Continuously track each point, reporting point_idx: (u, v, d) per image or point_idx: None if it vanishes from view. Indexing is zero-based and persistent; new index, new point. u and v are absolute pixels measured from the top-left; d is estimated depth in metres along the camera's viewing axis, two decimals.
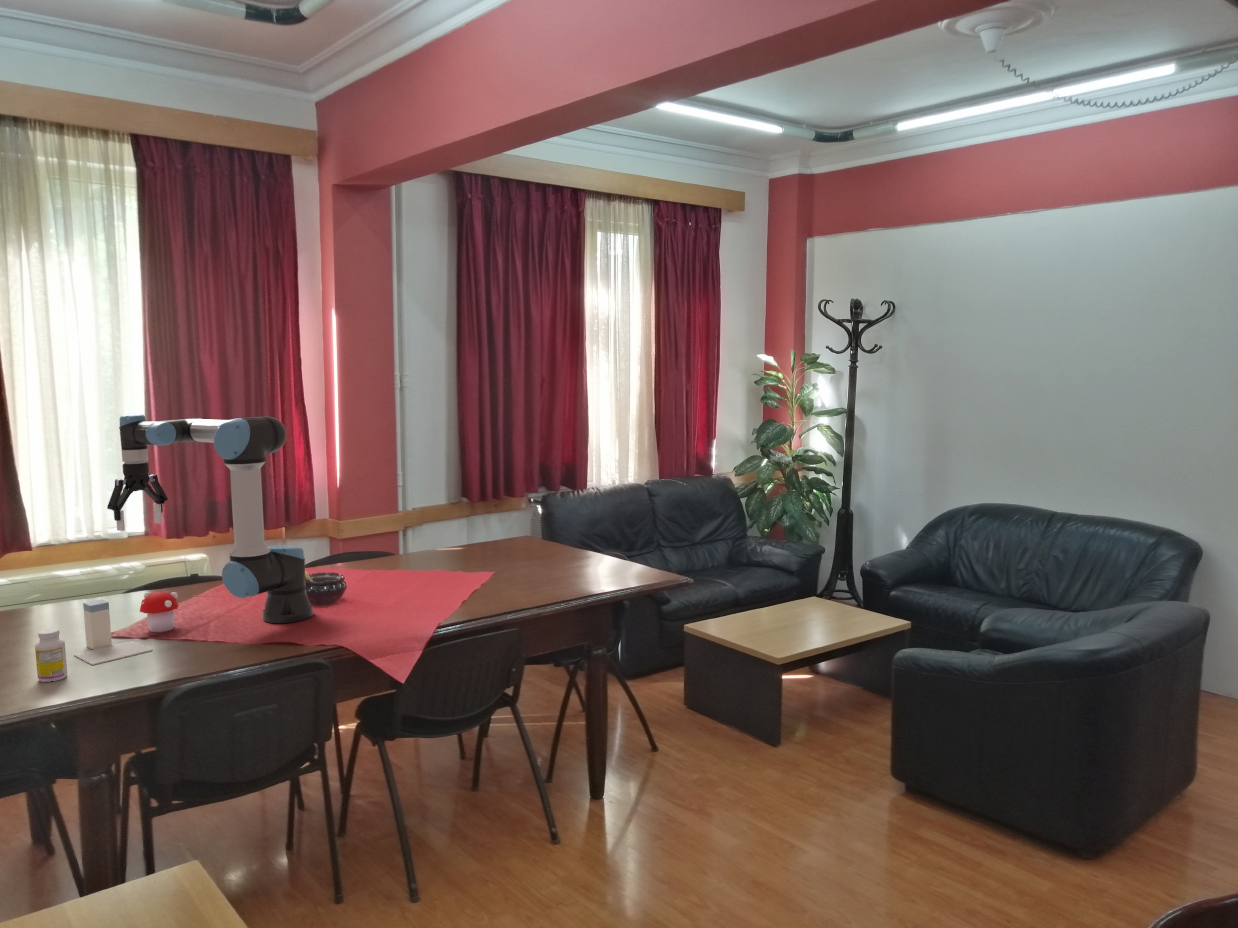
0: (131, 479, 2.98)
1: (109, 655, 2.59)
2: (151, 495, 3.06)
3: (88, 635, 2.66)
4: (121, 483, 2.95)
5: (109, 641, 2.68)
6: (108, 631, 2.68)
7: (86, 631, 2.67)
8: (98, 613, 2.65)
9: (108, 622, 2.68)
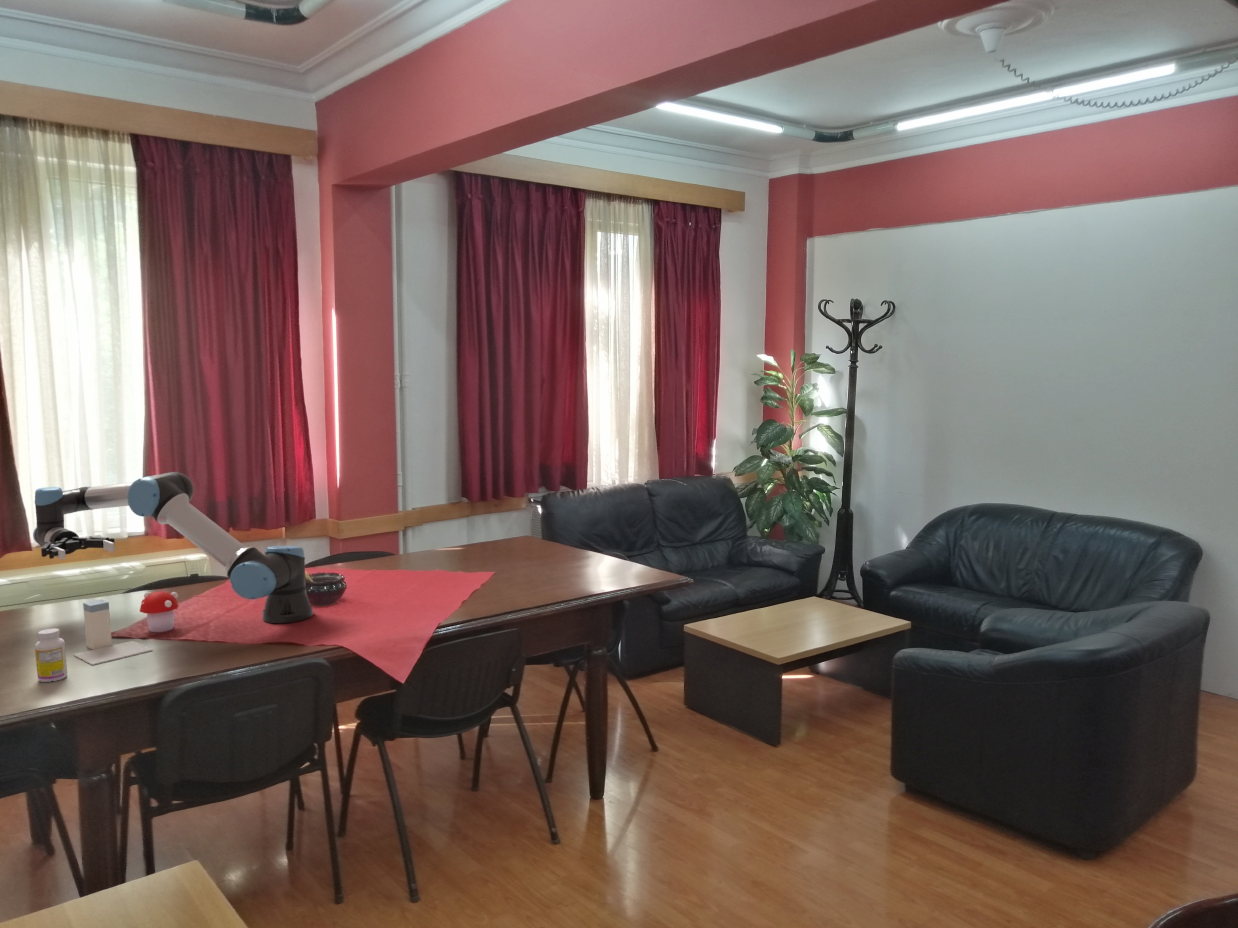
0: (59, 541, 2.84)
1: (109, 655, 2.59)
2: (93, 543, 2.86)
3: (88, 635, 2.66)
4: (46, 542, 2.81)
5: (109, 641, 2.68)
6: (108, 631, 2.68)
7: (86, 631, 2.67)
8: (98, 613, 2.65)
9: (108, 622, 2.68)
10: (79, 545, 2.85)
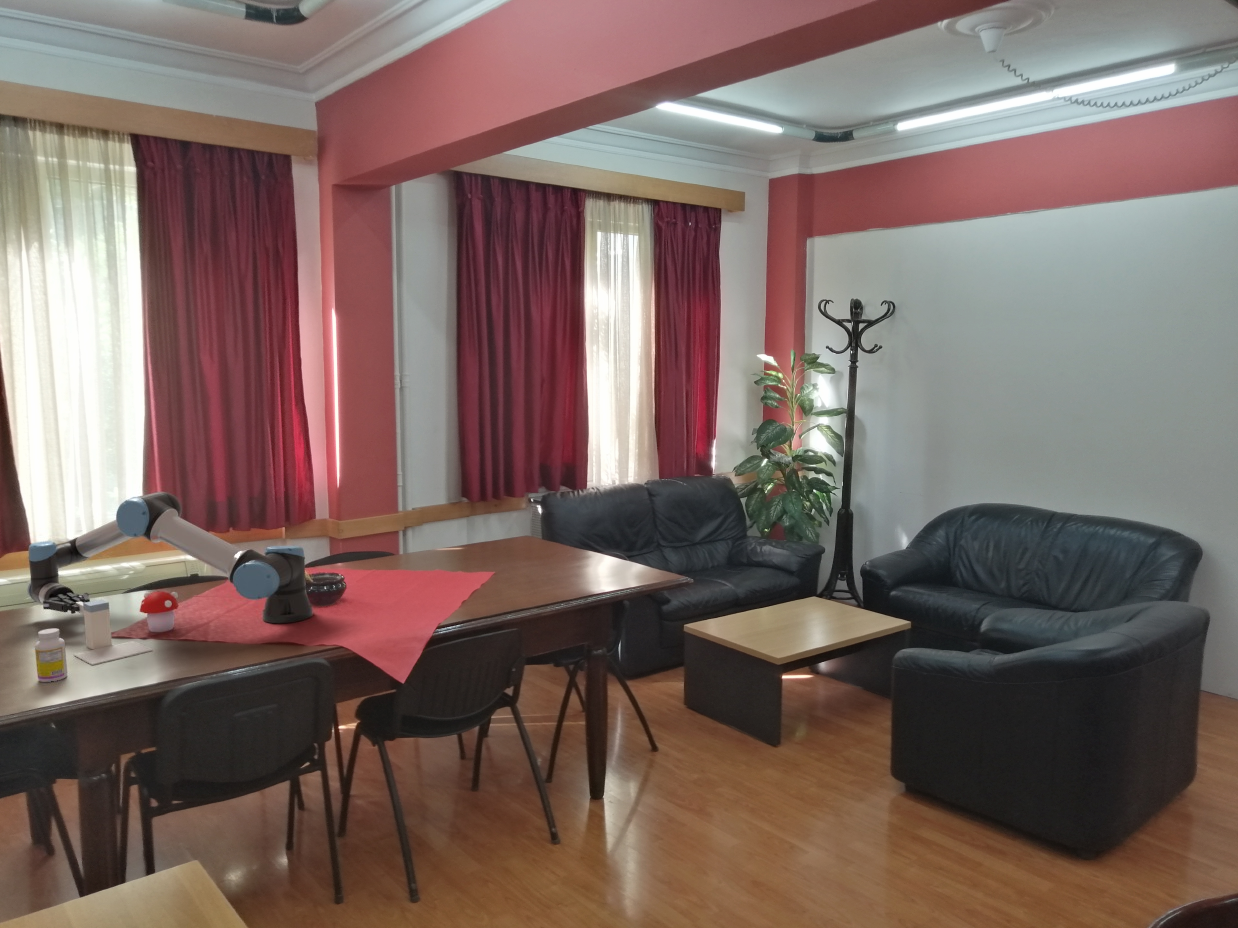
0: (51, 598, 2.82)
1: (109, 655, 2.59)
2: None
3: (88, 635, 2.66)
4: (46, 600, 2.78)
5: (109, 641, 2.68)
6: (108, 631, 2.68)
7: (86, 631, 2.67)
8: (98, 613, 2.65)
9: (108, 622, 2.68)
10: None
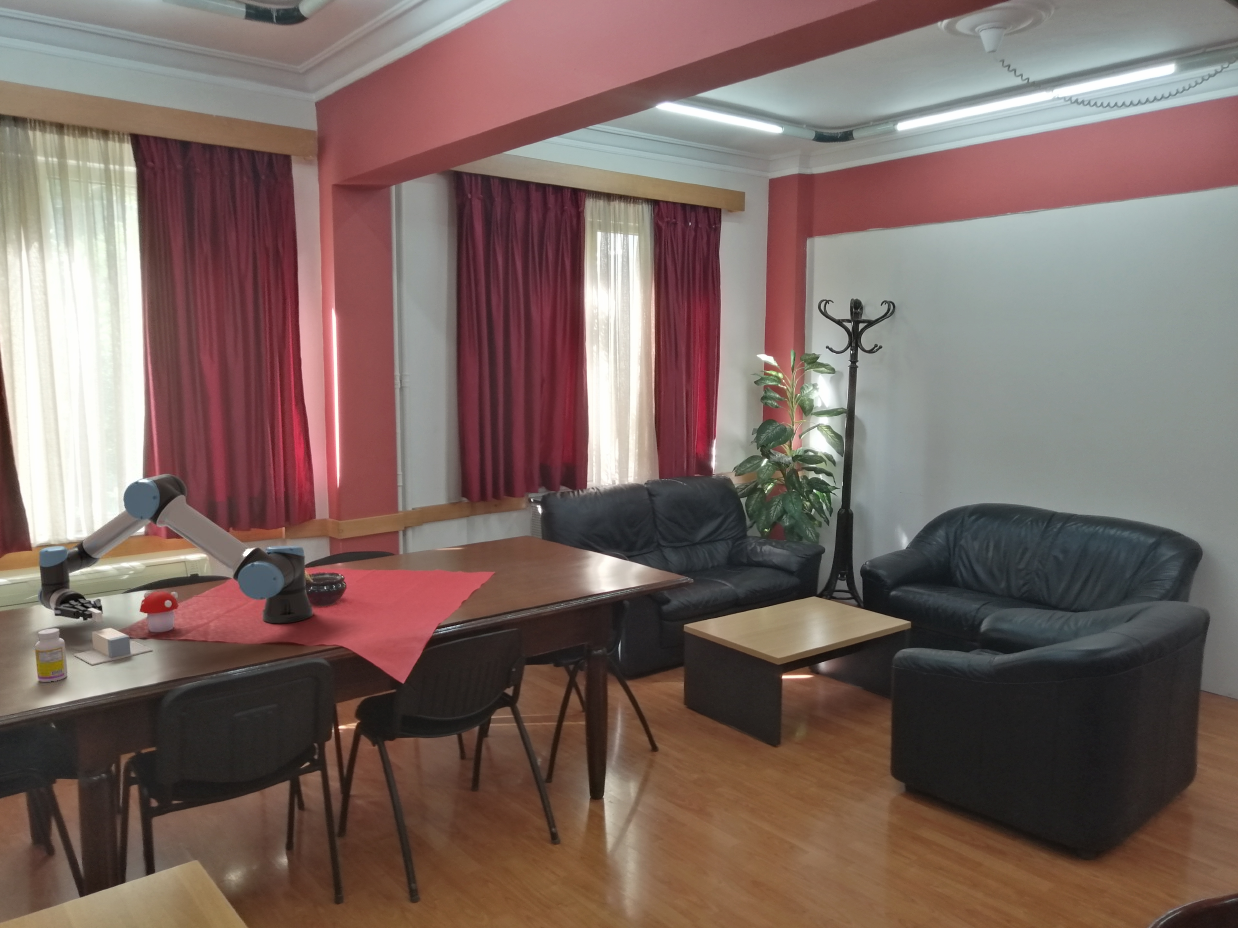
0: (63, 604, 2.75)
1: None
2: (87, 609, 2.73)
3: (97, 642, 2.62)
4: (58, 607, 2.71)
5: None
6: None
7: (98, 637, 2.62)
8: None
9: None
10: None
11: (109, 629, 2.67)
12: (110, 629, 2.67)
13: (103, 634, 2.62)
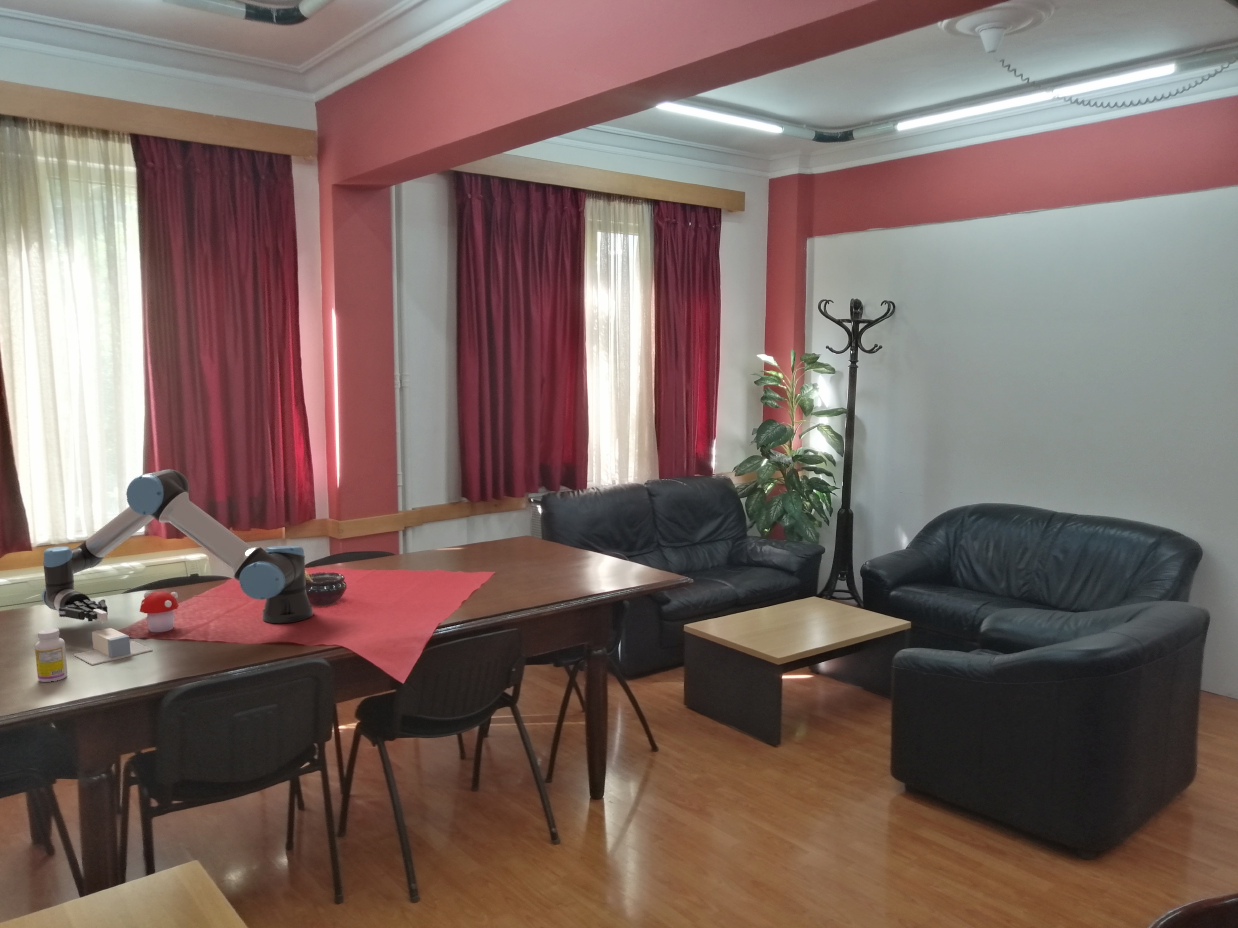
0: (67, 605, 2.73)
1: None
2: (92, 609, 2.71)
3: (97, 642, 2.62)
4: (63, 608, 2.70)
5: None
6: None
7: (98, 637, 2.62)
8: None
9: None
10: None
11: (109, 629, 2.67)
12: (110, 629, 2.67)
13: (103, 634, 2.62)
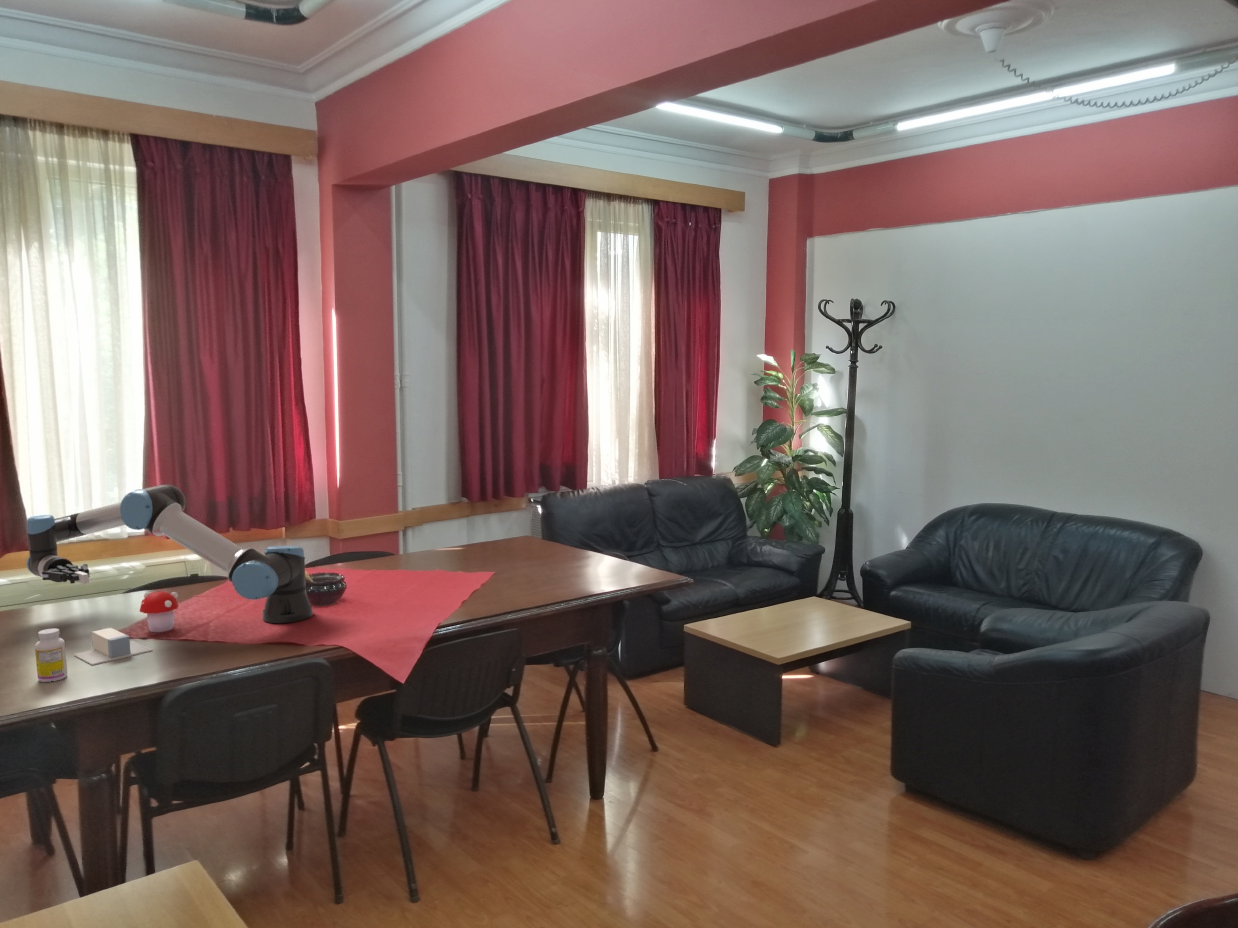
0: (50, 569, 2.82)
1: None
2: (74, 573, 2.80)
3: (97, 642, 2.62)
4: (46, 571, 2.79)
5: None
6: None
7: (98, 637, 2.62)
8: None
9: None
10: None
11: (109, 629, 2.67)
12: (110, 629, 2.67)
13: (103, 634, 2.62)
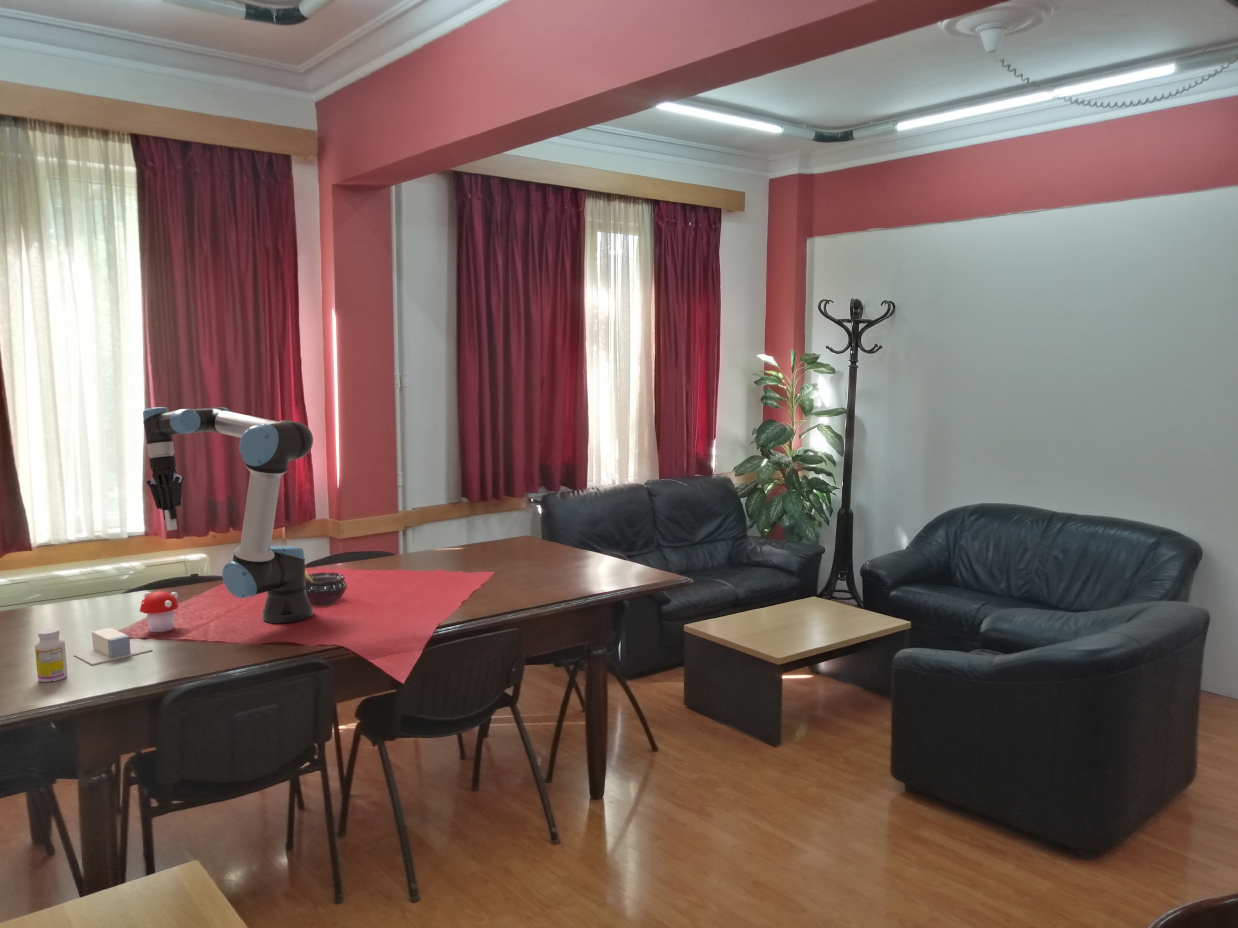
0: (153, 473, 2.94)
1: None
2: None
3: (97, 642, 2.62)
4: (149, 483, 2.95)
5: None
6: None
7: (98, 637, 2.62)
8: None
9: None
10: (170, 484, 2.94)
11: (109, 629, 2.67)
12: (110, 629, 2.67)
13: (103, 634, 2.62)
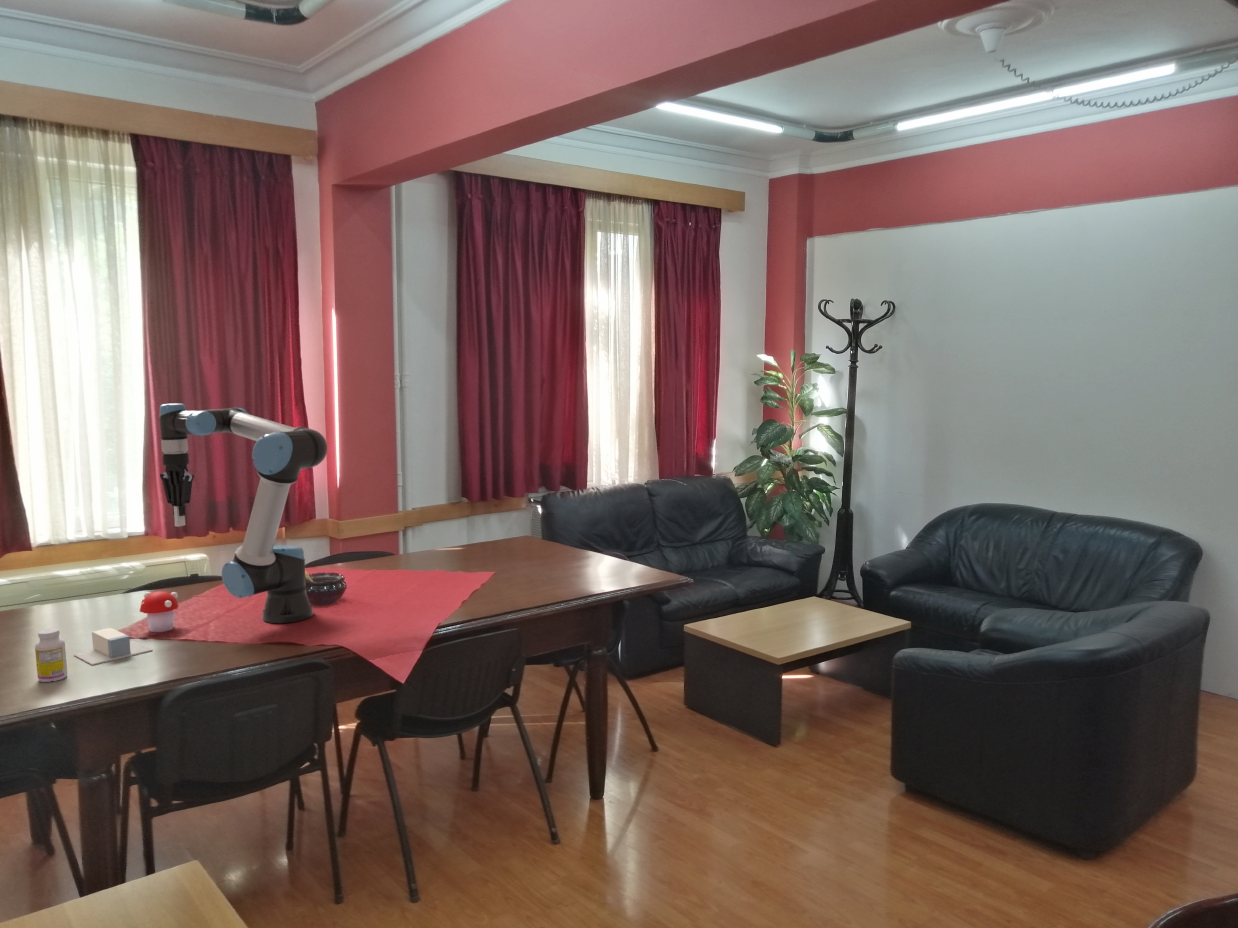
0: (166, 468, 2.94)
1: None
2: None
3: (97, 642, 2.62)
4: (161, 477, 2.96)
5: None
6: None
7: (98, 637, 2.62)
8: None
9: None
10: (181, 481, 2.94)
11: (109, 629, 2.67)
12: (110, 629, 2.67)
13: (103, 634, 2.62)
